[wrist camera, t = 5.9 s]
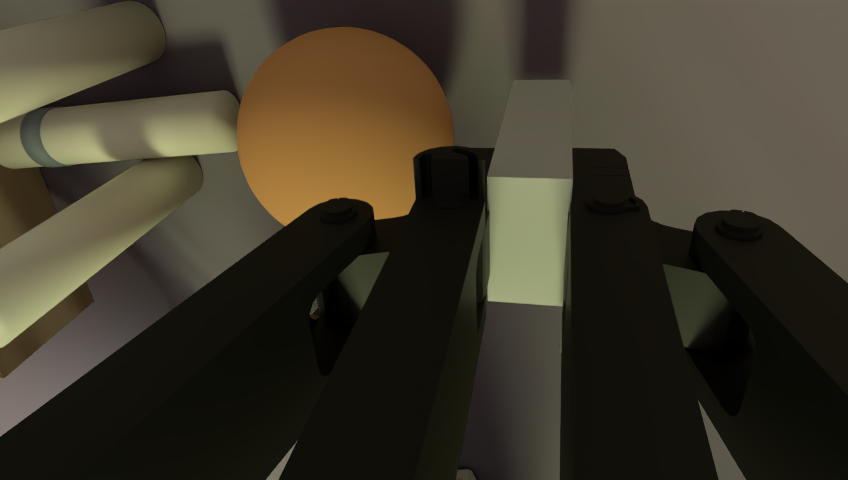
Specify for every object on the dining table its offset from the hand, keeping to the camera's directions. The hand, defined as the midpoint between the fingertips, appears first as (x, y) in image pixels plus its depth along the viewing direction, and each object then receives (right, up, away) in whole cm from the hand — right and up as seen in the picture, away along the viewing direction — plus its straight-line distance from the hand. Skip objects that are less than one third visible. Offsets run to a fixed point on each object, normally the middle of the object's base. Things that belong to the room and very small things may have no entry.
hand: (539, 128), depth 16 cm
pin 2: (-12, -1, +6) cm, 14 cm away
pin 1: (-13, +4, +3) cm, 14 cm away
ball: (-5, 0, 0) cm, 5 cm away
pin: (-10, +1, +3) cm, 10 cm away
